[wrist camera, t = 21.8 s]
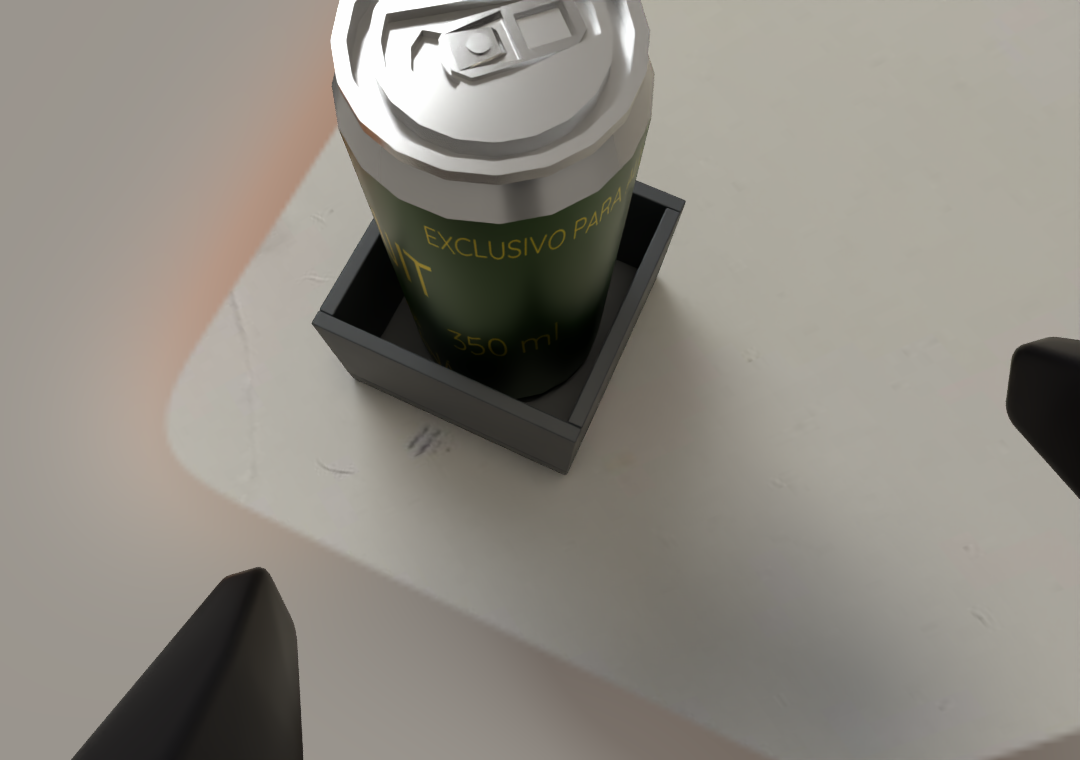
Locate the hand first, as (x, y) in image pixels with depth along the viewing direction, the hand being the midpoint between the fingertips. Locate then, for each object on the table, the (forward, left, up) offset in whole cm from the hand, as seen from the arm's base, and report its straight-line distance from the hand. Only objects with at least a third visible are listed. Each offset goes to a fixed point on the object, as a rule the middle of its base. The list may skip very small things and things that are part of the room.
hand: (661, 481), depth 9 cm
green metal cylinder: (+7, +2, -13) cm, 15 cm away
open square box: (+7, +2, -14) cm, 16 cm away
